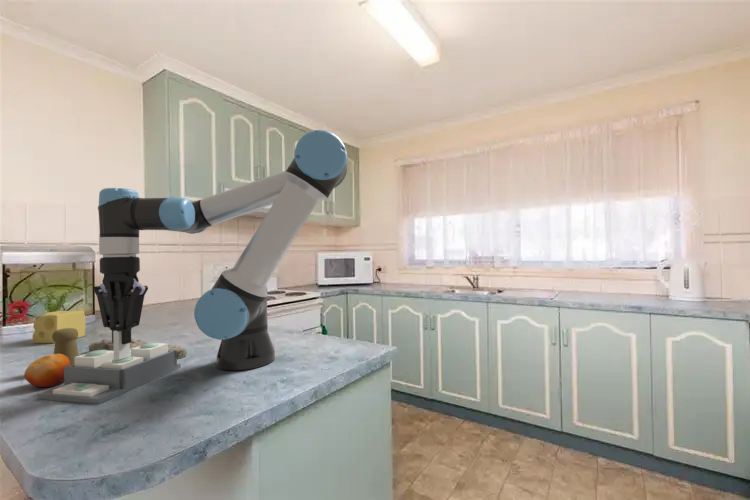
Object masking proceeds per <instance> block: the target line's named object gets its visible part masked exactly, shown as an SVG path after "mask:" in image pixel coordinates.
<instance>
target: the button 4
mask: <svg viewBox="0 0 750 500" xmlns="http://www.w3.org/2000/svg"><path fill="white" fill-rule="evenodd" d="M168 345H169V344H168V343H167V342H166V343H164V342H163V343H162V342H161V343H160V342H147V343H146V344H143V345H141V346H138V347H135V348H132V349H131V356H133V357H143V359H151V358H154V357H156V356H159V355H162V354H164V353H167V352H168Z"/></svg>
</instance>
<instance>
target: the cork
mask: <svg viewBox="0 0 750 500" xmlns="http://www.w3.org/2000/svg"><path fill="white" fill-rule="evenodd" d="M77 337H78V331H77V329H75V328H64V329H60V330H57V331H55V332H54V333H53V335H52V339H53V341H54V342H55V343H54V348H53V349H54V350H53V354H63V355H65V356H67V357H68V359H69V361H70V364H71V365H73V364H75V359H74V357H76V356H80V354H79V350H78V345H77V341H76V340H77V339H78V338H77Z"/></svg>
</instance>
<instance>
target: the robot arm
mask: <svg viewBox="0 0 750 500" xmlns="http://www.w3.org/2000/svg"><path fill="white" fill-rule="evenodd" d="M347 151H348V150H347V149H346V146H345V144H344V142H343V141H342V139H341V138H339V136H337V135H336V134H335V133H333V132H330V131H328V130H323V129H317V130H311V131H309V132H306V133H305V134H304V135H302V136H301V137H300V138H299V140H298V141H297V143H296V146H295V150H294V157H293V159H292V160H291V162H290V164H289V165H288V167H287V169H286V170H283V171H281V172H278V173H275V174H272V175H269V176H266V177H263V178H259V179H256V180H255V181H254V180H253V181H251V182H248V183H245V184H242V185H239V186H236V187H234V188H230V189H227V190H224V191H221V192H219V193H215V194H212V195H210V196H207V197H204V198H201V199H198V200H195V201H192V202H191V200H189V199H188V198H182V197H175V196H170V197H139V196H140V195H139V192H137V190H134V189H129V188H119V187H106V188H105V187H104V188H103V189H101V190H100V191H99V192H98V193H99V195H98V205H97V211H98V223H99V225H98V226H99V235H98V236H99V238H98V254H99V255H101V256H102V257H100V258H99V273H100V274H103V277H102V283H101V284H99V285H96V286H93V288H92V289H93V291H94V294H95V295H96V298H97V302H98V306H99V311H100V316H101V321H102V326H103V328H109V330H110V331H111V340H112V343H113V344H114V359H115V360H120V359H123V358H126V357H129V356H130V343H131V339H132V329H133V328H135V327H138V326H139V325H140V321H141V316H142V311H143V305H144V301H145V295H146V294H147V292H148V290H149V286H148V285H142V284H141V283H140V282H139V281H140V280H139V277H138V273H139V272H140V271H141V266H140V265H141V260H140V259H141V258H140V257H139V256H137V255H139V254H140V231H168V232H169V231H170V232H178V233H179V232H180V233H187V234H190V235H191V234H192V235H193V234H199V233H203V232H205V231H206V229H208V228H210V227H212V226H215V225H218V224H220V223H223V222H226V221H229V220H232V219H235V218H237V217H241V216H244V215H247V214H250V213H252V212H255V211H259V210H261V209H264V208H267V207H270V209H268V211H267V214H266V215H265V216H264V218H263V219H262V221H261V223H260V224H259V225H258V227H257V228H256V231H255V232H254V233H253V235H252V237H251V238H250V239H249V242H248V243H247V245H246V247H245V248H244V249H243V251H242V253H241V255H240V256H239V257H238V259H237V260H236V262H235V264H234V265H233V267H232V268H229V269H225V270H223V271H222V272H221V273H220V275H219V276H218V277H217V280H216V281H215V283H214V285H213V286H212V288H211V289H208V290H207V291H206V292H204V293H203V294H202V295H201V296H200V297H199V299H198V300H197V302H196V303H195V306H194V310H193V316H194V320H195V323H196V326H197V327H198V330H200V331H201V332H202V334H204V335H206V336H208V338H212V339H215V340H218V341H219V340H221V342H220V344H219V348H218V350H217V354H216V360H215V362H216V367H217V368H218V369H220V370H223V371H224V370H225V371H245V370H252V369H257V368H260V367H263V366H266V365H268V364H270V363H273V362H274V361H275V359H276V354H275V353H276V352H275V348H274V344H273V342H272V340H271V337H270V333H269V330H268V329H269V327H268V323H269V322H268V287H267V286H268V285H267V284H268V283H269V281H270V279H271V278H272V276H273V274H275V271H276V270H277V268H278V266H279V265H280V264H281V262H282V261H283V259H284V258H285V255H286V253H287V252H288V250H289V249H290V247H291V246H292V244H293V243H294V241H295V239H296V237H297V236H298V235H299V233H300V232H301V230H302V228H303V227H304V226H305V223H306V222H307V220H308V218H309V217H310V215H311V214H312V212H313V211H314V209H315V207H316V205H317V204H318V203H319V202H323V201H327V200H328V198H329V196H330V195H331V194H332V192H333V191H334V189H336V188H337V187H339V186H340V185H341V184H342V183H343V181H344V180H345V178H346V175H347V172H348V170H347V169H348V166H347V165H348V159H349V158H348V152H347Z"/></svg>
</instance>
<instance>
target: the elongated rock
mask: <svg viewBox="0 0 750 500" xmlns="http://www.w3.org/2000/svg"><path fill="white" fill-rule="evenodd" d="M146 343H148V342H145V341H143V340H140V339H139V340H138V339H134V338H131V343H130V348H135V347H138V346H141V345H143V344H146ZM96 350H108V351H114V344H113V343H112V339H106V338H103V339H102V340H101V341H95V342H92V343H90V345H88V352H91V351H96ZM168 350H176V351H177V360H179V359H183V358H185V357H187V355H188V354H187V352H188V350H187V349H186V348H185V347H183V346H181V345H170V344H168Z"/></svg>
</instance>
